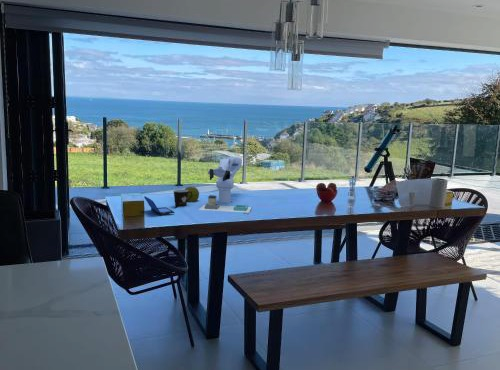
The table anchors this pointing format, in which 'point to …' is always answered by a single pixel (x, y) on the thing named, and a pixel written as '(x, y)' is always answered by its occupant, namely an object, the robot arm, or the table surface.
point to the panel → (227, 208)
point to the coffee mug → (181, 197)
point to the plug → (211, 200)
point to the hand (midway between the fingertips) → (216, 179)
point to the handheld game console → (158, 211)
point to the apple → (194, 194)
